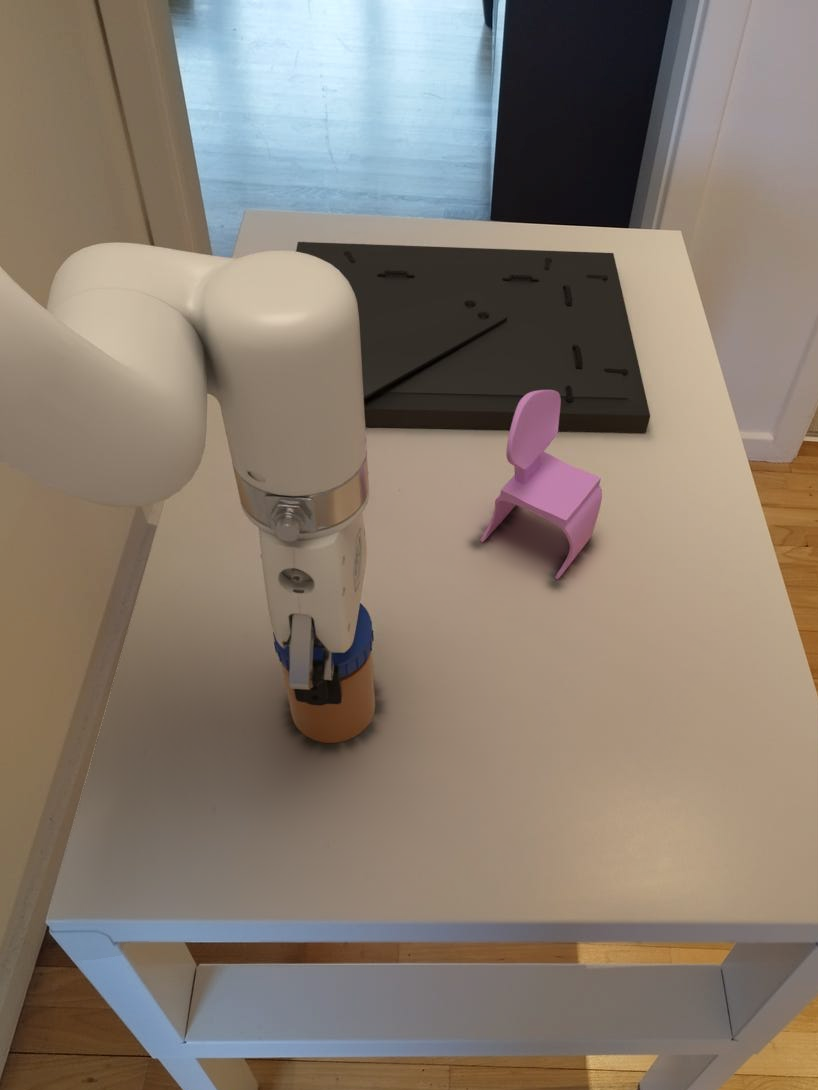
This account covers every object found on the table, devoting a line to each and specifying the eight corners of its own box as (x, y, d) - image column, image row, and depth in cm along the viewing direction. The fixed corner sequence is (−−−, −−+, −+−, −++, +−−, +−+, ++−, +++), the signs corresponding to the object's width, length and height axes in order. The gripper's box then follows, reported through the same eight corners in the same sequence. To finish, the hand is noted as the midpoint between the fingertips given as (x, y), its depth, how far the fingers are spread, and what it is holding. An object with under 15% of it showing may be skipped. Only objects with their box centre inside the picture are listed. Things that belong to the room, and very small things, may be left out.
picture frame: (273, 424, 92) (645, 433, 94) (268, 395, 89) (653, 405, 92) (299, 259, 110) (610, 270, 113) (296, 230, 108) (615, 242, 110)
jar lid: (262, 622, 66) (259, 607, 65) (352, 593, 68) (351, 578, 67) (294, 695, 62) (291, 681, 61) (388, 661, 64) (387, 647, 63)
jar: (289, 745, 70) (274, 675, 62) (292, 674, 74) (278, 601, 66) (376, 741, 70) (371, 671, 63) (374, 671, 74) (369, 598, 67)
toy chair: (557, 589, 81) (581, 461, 69) (473, 547, 83) (483, 417, 71) (600, 533, 85) (630, 404, 73) (519, 495, 88) (535, 364, 76)
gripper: (348, 594, 47) (364, 763, 62) (383, 385, 58) (390, 571, 72) (203, 584, 47) (253, 756, 61) (265, 377, 58) (295, 565, 72)
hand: (327, 655), depth 67 cm, fingers closed on jar lid, 6 cm apart
